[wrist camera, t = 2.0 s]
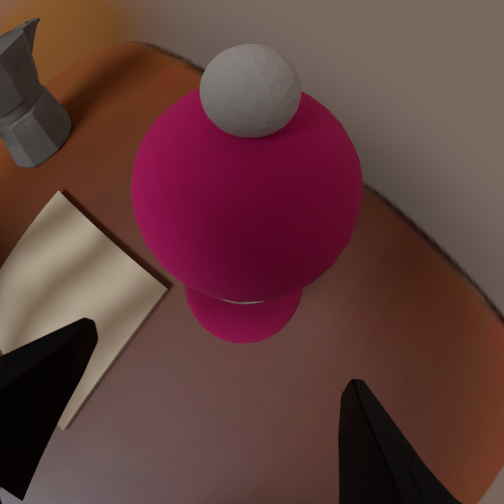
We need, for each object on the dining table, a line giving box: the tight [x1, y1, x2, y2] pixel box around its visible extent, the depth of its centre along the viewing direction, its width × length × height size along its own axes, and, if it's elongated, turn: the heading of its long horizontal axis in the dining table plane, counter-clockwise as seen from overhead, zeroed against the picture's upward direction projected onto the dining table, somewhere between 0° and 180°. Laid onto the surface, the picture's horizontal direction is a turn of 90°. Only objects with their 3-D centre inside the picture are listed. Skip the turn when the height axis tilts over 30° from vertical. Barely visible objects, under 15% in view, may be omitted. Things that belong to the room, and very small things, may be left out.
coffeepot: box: [0, 18, 72, 168], centre depth 19 cm, size 15×9×18 cm, turn 147°
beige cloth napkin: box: [0, 191, 169, 431], centre depth 22 cm, size 16×16×1 cm
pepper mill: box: [132, 44, 362, 343], centre depth 13 cm, size 7×7×20 cm
